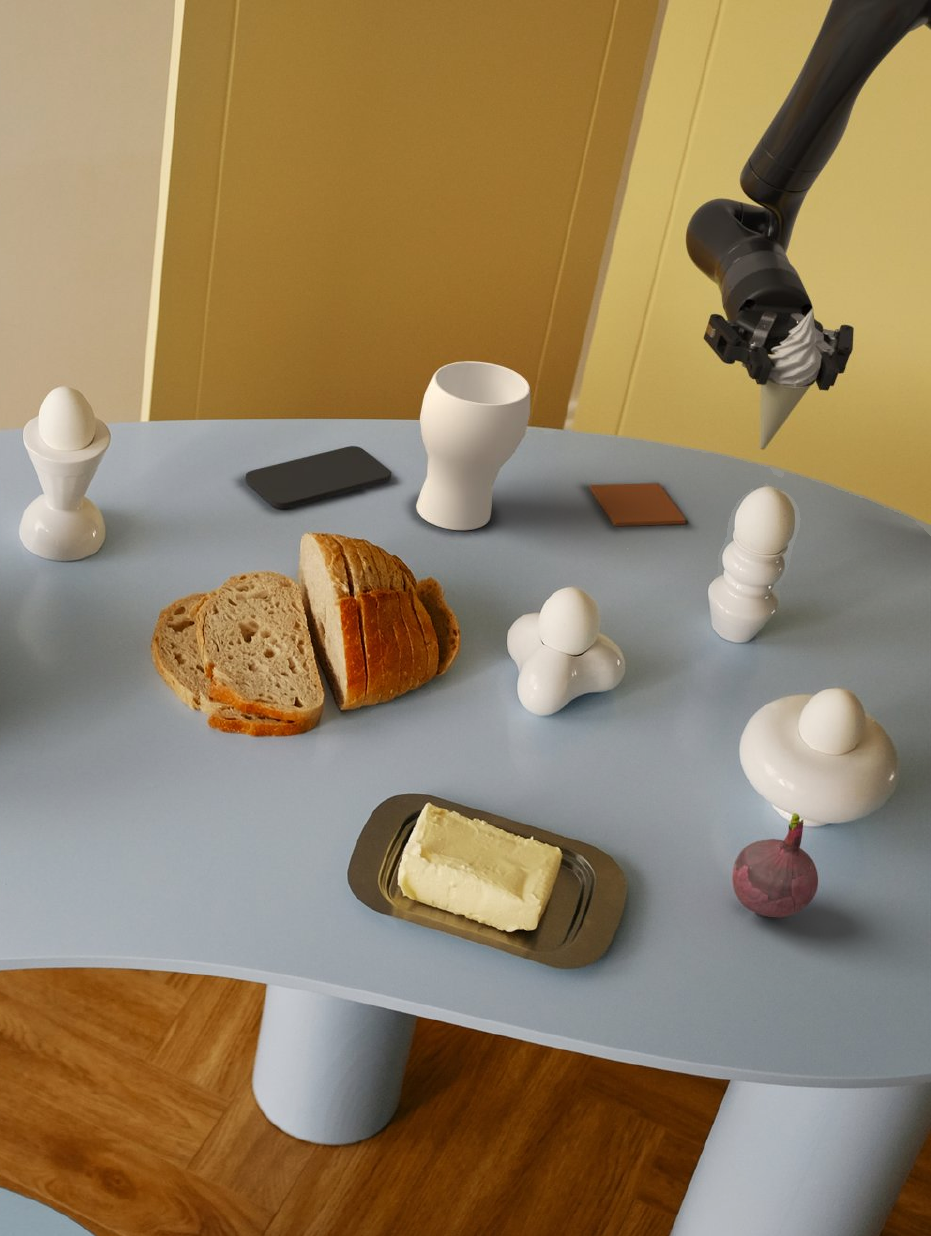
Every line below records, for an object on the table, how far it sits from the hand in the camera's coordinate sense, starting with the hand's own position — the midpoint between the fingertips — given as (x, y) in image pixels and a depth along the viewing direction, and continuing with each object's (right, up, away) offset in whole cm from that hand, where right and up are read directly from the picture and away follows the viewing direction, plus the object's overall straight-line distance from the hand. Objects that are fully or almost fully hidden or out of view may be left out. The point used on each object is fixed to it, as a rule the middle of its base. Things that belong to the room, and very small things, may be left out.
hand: (796, 378), depth 156 cm
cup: (-27, -10, +19) cm, 35 cm away
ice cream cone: (0, -5, +8) cm, 10 cm away
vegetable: (-16, -48, -27) cm, 58 cm away
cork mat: (-8, -9, +20) cm, 23 cm away
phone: (-41, -6, +23) cm, 47 cm away
